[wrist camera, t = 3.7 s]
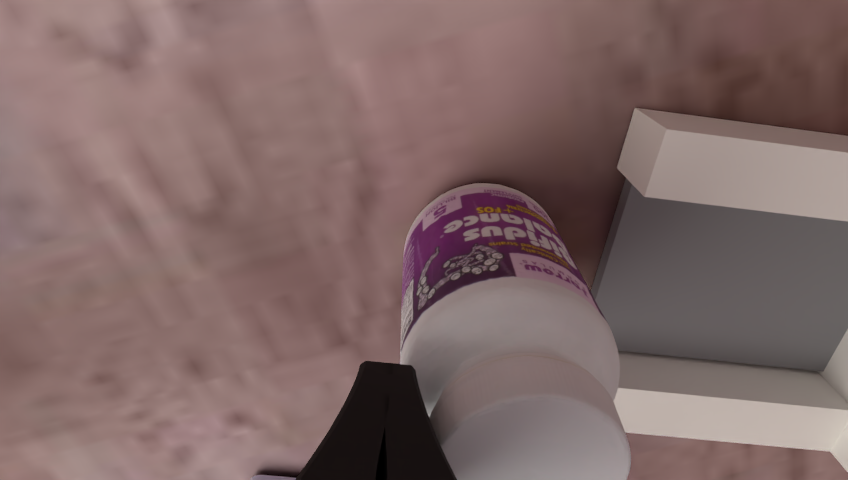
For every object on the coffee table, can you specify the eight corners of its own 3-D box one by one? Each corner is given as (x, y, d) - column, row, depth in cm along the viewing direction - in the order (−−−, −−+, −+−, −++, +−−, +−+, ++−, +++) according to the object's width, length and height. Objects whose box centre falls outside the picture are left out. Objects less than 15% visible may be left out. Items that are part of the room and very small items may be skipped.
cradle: (824, 406, 23) (887, 477, 20) (552, 380, 22) (575, 448, 19) (975, 152, 18) (1092, 192, 15) (634, 107, 17) (682, 139, 14)
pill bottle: (555, 169, 18) (689, 354, 10) (554, 304, 21) (659, 550, 12) (392, 185, 18) (380, 383, 10) (410, 318, 21) (412, 571, 12)
